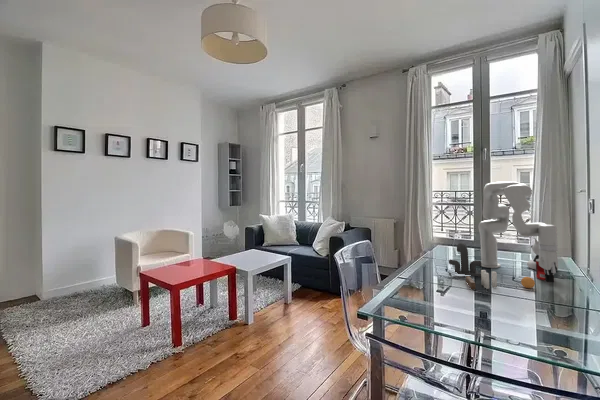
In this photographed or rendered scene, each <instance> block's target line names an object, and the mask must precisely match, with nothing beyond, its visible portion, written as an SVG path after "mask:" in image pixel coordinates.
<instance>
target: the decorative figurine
mask: <svg viewBox="0 0 600 400" xmlns="http://www.w3.org/2000/svg"><path fill="white" fill-rule="evenodd" d="M530 249H532V252H533V253H534V254H535V256H534V258H533V259H530V260H528V261H526V265H527V268H530V269H532V270H535V271H536V259H539V240H537V239H535V238H534V243H533V244H531V245H530Z"/></svg>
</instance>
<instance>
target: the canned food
mask: <svg viewBox="0 0 600 400" xmlns="http://www.w3.org/2000/svg"><path fill="white" fill-rule="evenodd" d="M535 272H536V273H535V274H536V275H535V277H536V278H537V279H538V280H541V281H545V272H544V268H542V267H540V266H539V259H536V270H535Z"/></svg>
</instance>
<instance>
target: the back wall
mask: <svg viewBox="0 0 600 400" xmlns="http://www.w3.org/2000/svg"><path fill="white" fill-rule="evenodd" d="M472 278H473V277H470V276H466V277H465V283H466V282H467V283H468V285H469V286H470V287H471V289H476V282H475V280H474V279H472ZM467 283H466V284H467ZM468 285H467V286H468ZM469 286H468V287H469ZM470 287H469V288H470ZM471 289H470V290H471Z"/></svg>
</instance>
